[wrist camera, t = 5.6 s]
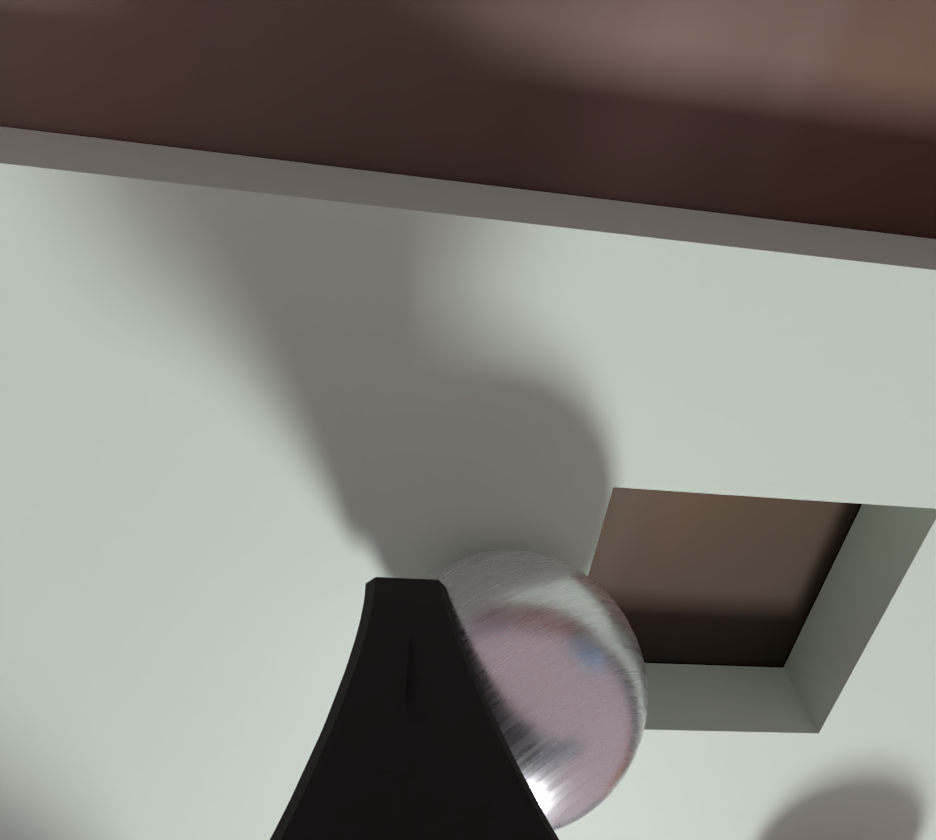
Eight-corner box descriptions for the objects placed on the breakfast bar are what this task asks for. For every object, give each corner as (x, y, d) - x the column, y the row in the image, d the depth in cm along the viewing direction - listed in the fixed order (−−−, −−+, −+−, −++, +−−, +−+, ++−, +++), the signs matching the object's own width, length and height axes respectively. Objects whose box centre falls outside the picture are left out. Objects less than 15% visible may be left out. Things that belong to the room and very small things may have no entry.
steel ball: (447, 935, 10) (336, 697, 12) (665, 798, 11) (531, 608, 13) (472, 824, 7) (327, 552, 10) (744, 669, 9) (566, 463, 11)
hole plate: (850, 883, 20) (881, 948, 19) (-220, 891, 16) (-271, 971, 15) (1257, 278, 12) (1361, 318, 11) (-662, 46, 8) (-850, 66, 7)
